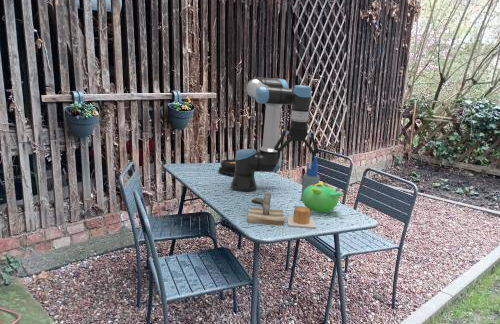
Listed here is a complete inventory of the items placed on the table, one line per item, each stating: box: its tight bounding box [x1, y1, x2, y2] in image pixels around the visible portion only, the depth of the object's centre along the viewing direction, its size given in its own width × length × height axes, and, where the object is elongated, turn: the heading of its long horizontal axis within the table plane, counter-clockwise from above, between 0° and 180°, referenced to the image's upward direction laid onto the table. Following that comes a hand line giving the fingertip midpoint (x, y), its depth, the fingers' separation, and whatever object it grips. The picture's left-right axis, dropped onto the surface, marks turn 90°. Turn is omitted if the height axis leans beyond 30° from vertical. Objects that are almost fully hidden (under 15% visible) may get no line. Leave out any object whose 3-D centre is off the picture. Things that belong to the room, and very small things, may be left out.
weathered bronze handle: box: [251, 197, 264, 205], centre depth 194 cm, size 22×3×7 cm
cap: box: [292, 205, 311, 224], centre depth 172 cm, size 7×7×6 cm
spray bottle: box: [300, 155, 321, 202], centre depth 208 cm, size 9×9×25 cm
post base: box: [247, 191, 285, 226], centre depth 175 cm, size 16×16×12 cm
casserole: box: [218, 159, 235, 176], centre depth 263 cm, size 25×19×8 cm
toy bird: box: [301, 180, 344, 213], centre depth 191 cm, size 18×17×15 cm
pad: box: [286, 215, 317, 230], centre depth 173 cm, size 12×12×1 cm
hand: (294, 166), depth 175 cm, fingers open, 13 cm apart
